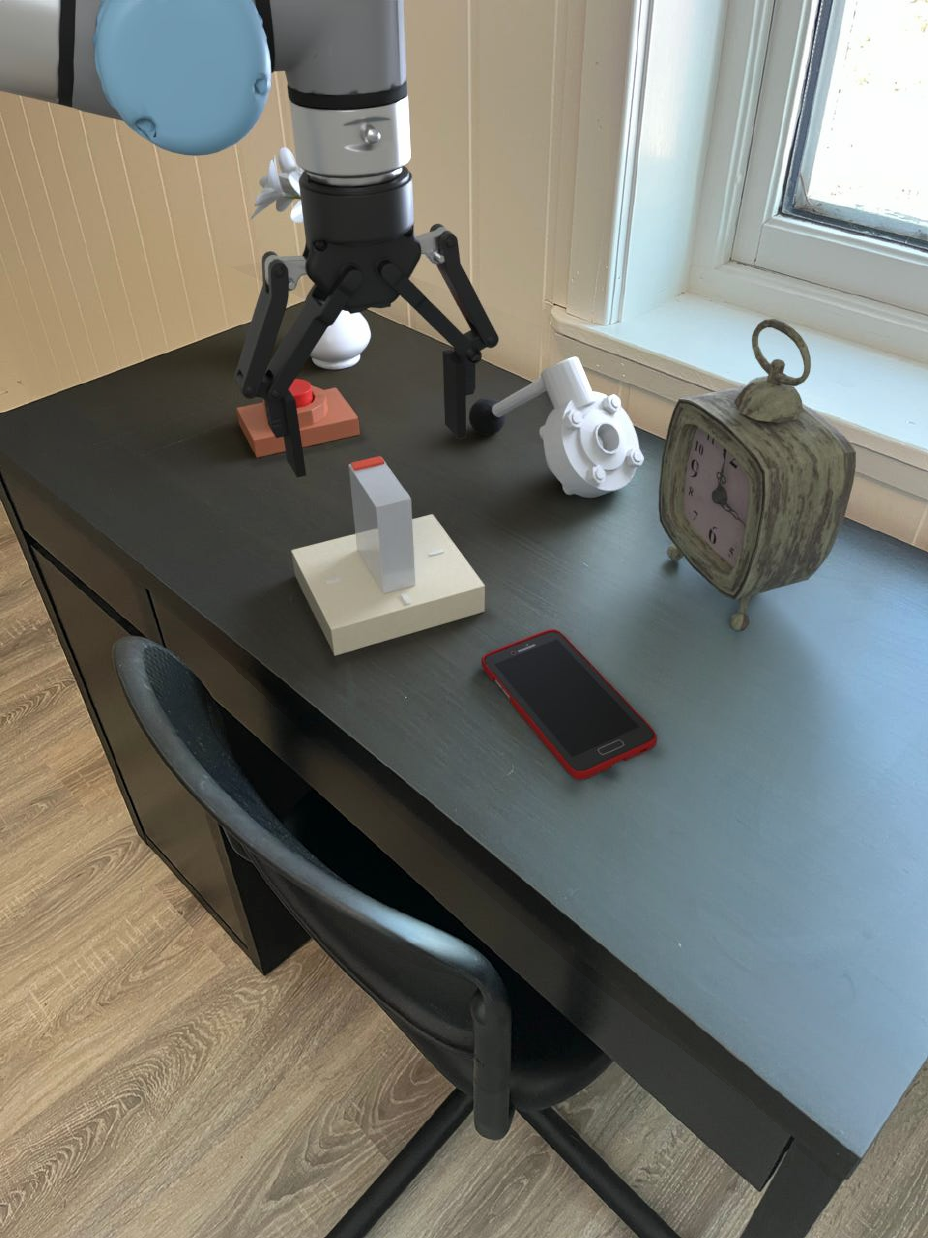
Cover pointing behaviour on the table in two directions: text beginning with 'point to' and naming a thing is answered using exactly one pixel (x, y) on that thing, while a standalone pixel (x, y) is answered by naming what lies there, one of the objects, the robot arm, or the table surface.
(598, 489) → the mechanical valve
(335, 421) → the button block
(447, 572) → the cream rectangular base
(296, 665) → the table surface
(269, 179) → the flower vase
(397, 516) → the grey rectangular block
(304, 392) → the button
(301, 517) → the table surface
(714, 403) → the tabletop clock
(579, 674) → the cell phone
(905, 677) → the table surface
